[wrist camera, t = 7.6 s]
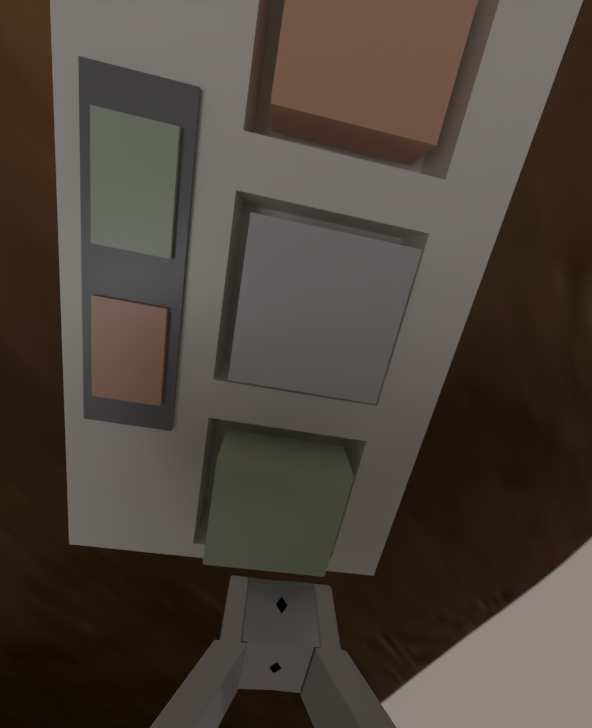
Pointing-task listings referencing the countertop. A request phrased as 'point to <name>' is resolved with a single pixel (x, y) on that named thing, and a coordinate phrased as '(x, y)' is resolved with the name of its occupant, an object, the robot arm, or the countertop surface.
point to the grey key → (318, 309)
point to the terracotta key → (369, 73)
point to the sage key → (276, 504)
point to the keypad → (228, 244)
